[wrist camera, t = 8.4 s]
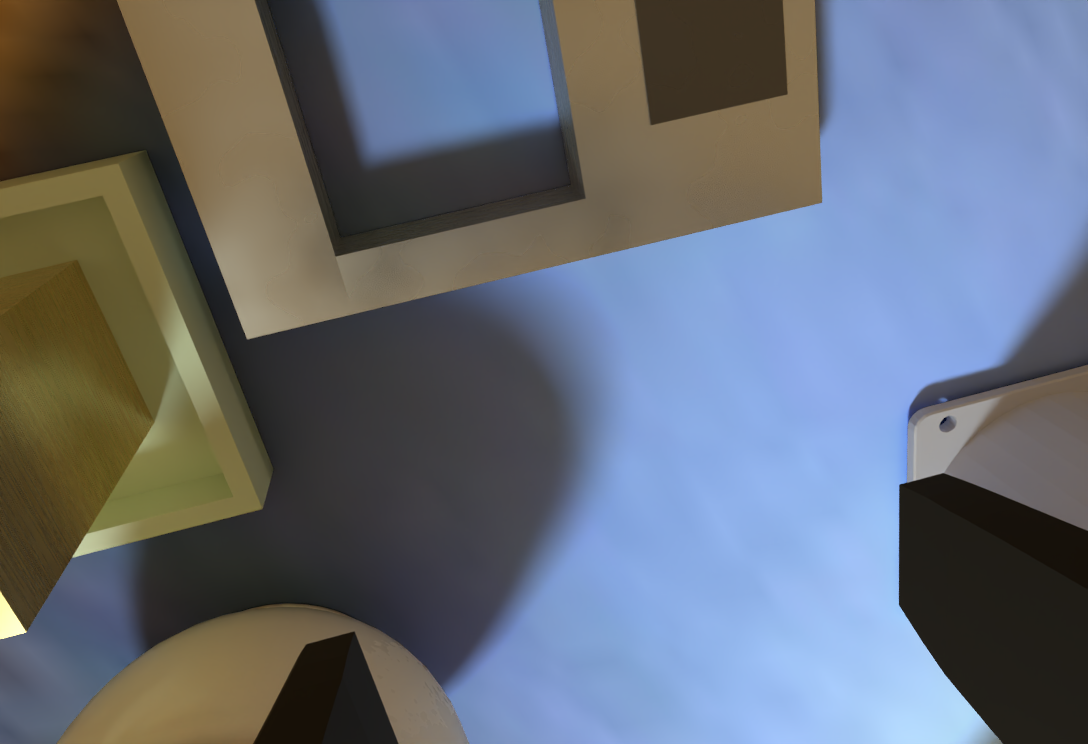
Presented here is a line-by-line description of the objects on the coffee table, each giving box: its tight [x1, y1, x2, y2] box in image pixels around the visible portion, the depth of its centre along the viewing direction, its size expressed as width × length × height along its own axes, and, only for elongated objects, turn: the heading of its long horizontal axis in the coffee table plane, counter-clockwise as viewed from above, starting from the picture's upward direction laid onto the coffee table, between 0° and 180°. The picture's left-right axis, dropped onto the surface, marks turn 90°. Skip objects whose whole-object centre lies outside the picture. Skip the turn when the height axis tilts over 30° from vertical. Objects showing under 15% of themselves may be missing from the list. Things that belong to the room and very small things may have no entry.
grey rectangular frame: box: [117, 0, 822, 339], centre depth 16 cm, size 13×8×2 cm, turn 101°
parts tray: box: [0, 150, 274, 557], centre depth 17 cm, size 8×8×2 cm
